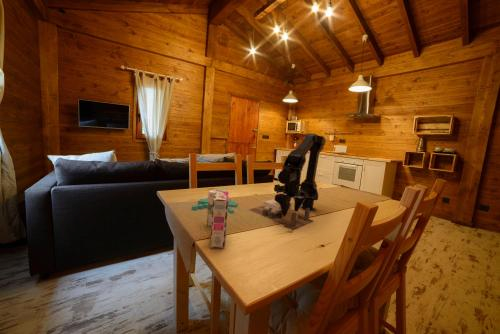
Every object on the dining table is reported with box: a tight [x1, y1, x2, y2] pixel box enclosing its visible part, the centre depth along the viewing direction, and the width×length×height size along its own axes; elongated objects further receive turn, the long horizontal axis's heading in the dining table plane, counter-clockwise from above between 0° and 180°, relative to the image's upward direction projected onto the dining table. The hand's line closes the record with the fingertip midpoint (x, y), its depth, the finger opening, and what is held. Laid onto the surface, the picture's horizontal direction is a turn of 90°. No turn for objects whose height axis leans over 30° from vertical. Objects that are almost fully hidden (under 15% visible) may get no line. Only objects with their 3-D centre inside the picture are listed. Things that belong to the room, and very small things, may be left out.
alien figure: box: [191, 197, 239, 214], centre depth 113 cm, size 20×2×20 cm
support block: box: [282, 209, 299, 221], centre depth 101 cm, size 5×5×4 cm
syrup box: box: [206, 188, 228, 228], centre depth 89 cm, size 6×6×14 cm
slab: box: [263, 198, 293, 211], centre depth 106 cm, size 10×9×2 cm
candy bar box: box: [209, 191, 229, 249], centre depth 76 cm, size 11×5×16 cm, turn 5°
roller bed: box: [247, 205, 314, 231], centre depth 105 cm, size 16×27×6 cm, turn 45°
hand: (290, 214), depth 101 cm, fingers open, 9 cm apart
